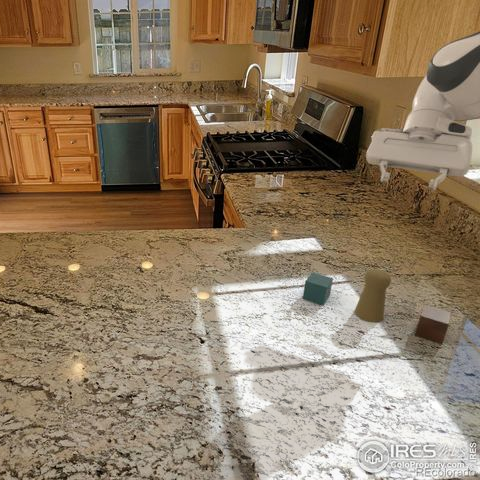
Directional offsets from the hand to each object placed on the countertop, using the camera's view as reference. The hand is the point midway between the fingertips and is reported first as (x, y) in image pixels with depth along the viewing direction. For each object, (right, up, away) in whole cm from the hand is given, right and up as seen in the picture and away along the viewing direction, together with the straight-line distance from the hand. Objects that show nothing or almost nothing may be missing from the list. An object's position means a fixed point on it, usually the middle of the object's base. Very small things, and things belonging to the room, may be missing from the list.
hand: (407, 184), depth 94 cm
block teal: (-17, -26, +9) cm, 32 cm away
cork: (-7, -29, +3) cm, 30 cm away
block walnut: (+3, -32, -4) cm, 32 cm away
